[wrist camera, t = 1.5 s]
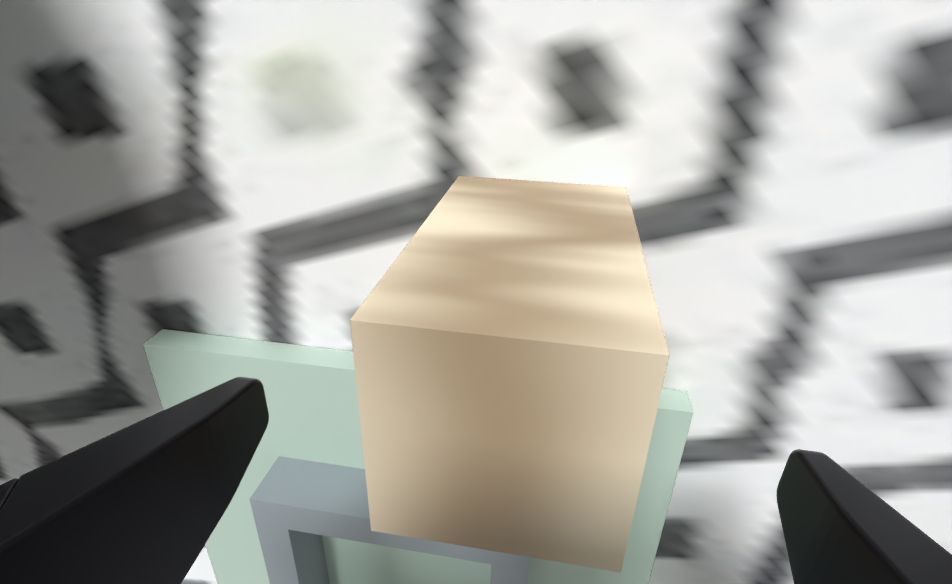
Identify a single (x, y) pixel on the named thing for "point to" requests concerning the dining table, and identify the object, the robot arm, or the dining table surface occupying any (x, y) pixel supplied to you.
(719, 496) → the dining table surface
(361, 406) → the birch peg
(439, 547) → the socket board
